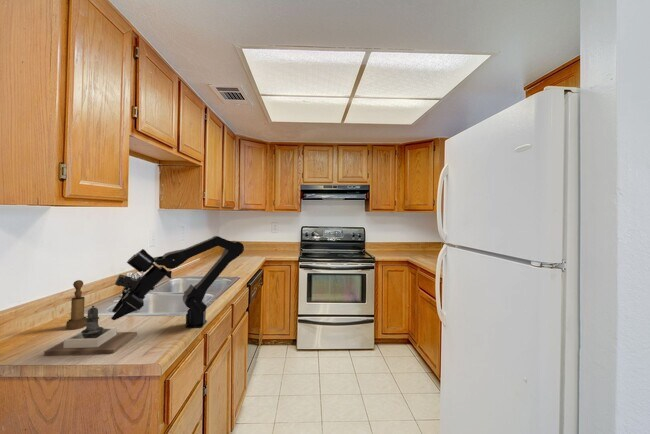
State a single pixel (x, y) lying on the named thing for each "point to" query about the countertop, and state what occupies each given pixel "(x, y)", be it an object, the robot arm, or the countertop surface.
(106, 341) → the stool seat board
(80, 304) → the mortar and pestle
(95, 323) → the salt shaker
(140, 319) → the countertop surface
